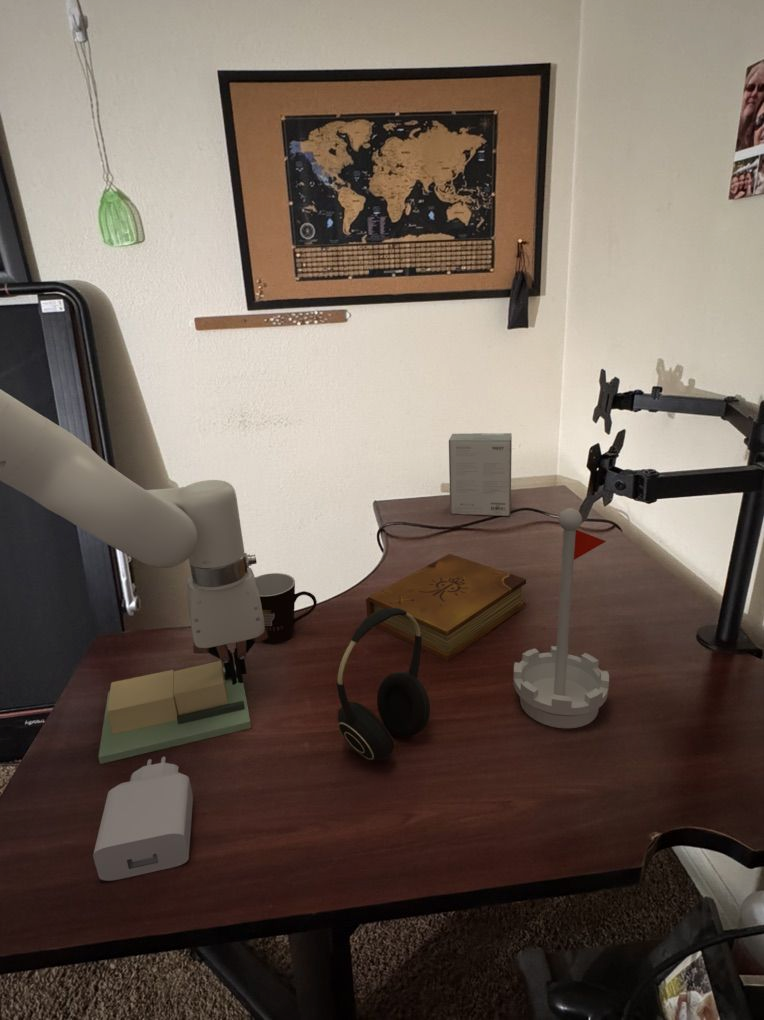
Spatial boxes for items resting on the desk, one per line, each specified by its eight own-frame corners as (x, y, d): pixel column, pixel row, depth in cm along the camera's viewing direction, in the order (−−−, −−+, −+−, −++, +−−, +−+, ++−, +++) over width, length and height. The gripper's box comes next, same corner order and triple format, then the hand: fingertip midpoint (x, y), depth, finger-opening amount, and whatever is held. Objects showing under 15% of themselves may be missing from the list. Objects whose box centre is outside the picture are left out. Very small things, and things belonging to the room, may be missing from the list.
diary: (446, 578, 130) (446, 552, 127) (525, 606, 117) (526, 578, 115) (367, 622, 114) (365, 594, 112) (447, 661, 102) (447, 630, 100)
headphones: (445, 729, 87) (444, 601, 80) (368, 790, 77) (359, 651, 70) (400, 702, 93) (395, 581, 86) (323, 756, 83) (310, 624, 76)
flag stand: (532, 739, 84) (542, 533, 74) (500, 681, 96) (505, 497, 86) (623, 726, 86) (646, 522, 75) (581, 670, 98) (595, 488, 87)
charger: (196, 766, 82) (189, 864, 69) (122, 781, 81) (100, 883, 67) (191, 737, 81) (183, 831, 67) (115, 751, 79) (91, 850, 65)
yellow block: (178, 717, 90) (173, 694, 89) (178, 693, 95) (173, 671, 94) (228, 705, 92) (224, 682, 90) (225, 682, 97) (221, 660, 96)
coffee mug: (241, 638, 111) (234, 588, 108) (275, 617, 118) (269, 569, 114) (289, 658, 105) (283, 605, 101) (323, 634, 111) (318, 584, 108)
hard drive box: (511, 506, 166) (513, 433, 159) (509, 517, 159) (512, 440, 152) (452, 504, 170) (452, 432, 163) (449, 514, 163) (448, 439, 156)
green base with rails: (99, 764, 84) (91, 732, 82) (109, 697, 97) (102, 669, 95) (251, 728, 89) (246, 697, 87) (240, 669, 102) (236, 642, 101)
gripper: (268, 549, 93) (282, 654, 100) (163, 567, 89) (184, 675, 96) (276, 570, 86) (290, 681, 93) (162, 590, 82) (186, 705, 89)
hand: (236, 678), depth 94 cm, fingers closed
